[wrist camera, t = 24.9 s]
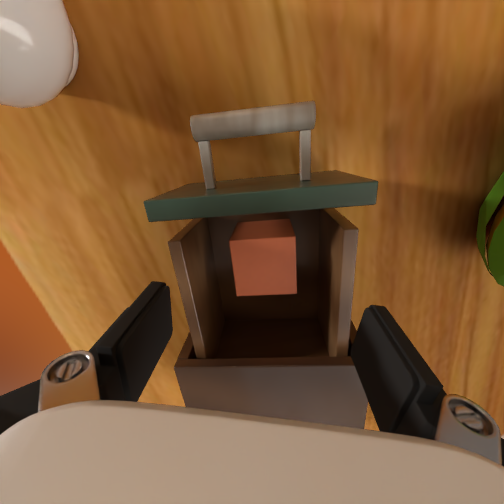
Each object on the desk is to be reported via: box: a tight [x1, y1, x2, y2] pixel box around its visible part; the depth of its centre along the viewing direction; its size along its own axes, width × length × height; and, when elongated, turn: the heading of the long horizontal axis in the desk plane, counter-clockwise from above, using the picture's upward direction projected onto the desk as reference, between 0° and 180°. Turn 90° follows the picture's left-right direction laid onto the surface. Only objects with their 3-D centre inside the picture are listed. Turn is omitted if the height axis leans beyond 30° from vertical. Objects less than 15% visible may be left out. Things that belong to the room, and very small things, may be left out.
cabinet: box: [174, 321, 368, 429], centre depth 23 cm, size 16×14×10 cm
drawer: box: [144, 101, 378, 359], centre depth 18 cm, size 19×12×8 cm, turn 5°
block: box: [229, 219, 297, 296], centre depth 18 cm, size 4×4×4 cm
